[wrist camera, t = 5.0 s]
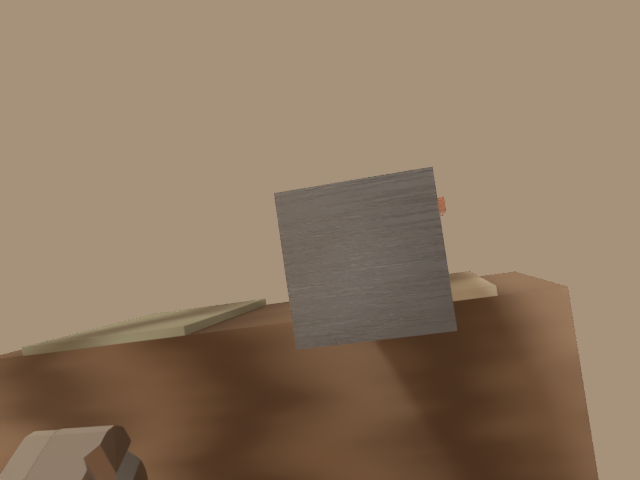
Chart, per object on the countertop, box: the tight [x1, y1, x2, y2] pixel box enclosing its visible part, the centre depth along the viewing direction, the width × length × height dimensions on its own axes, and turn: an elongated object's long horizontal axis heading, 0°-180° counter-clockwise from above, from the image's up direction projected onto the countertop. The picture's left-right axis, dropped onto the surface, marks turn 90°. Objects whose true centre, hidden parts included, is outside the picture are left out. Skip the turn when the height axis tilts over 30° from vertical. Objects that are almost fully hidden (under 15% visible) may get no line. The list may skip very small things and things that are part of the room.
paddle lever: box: [274, 167, 457, 350], centre depth 20 cm, size 4×20×3 cm, turn 170°
